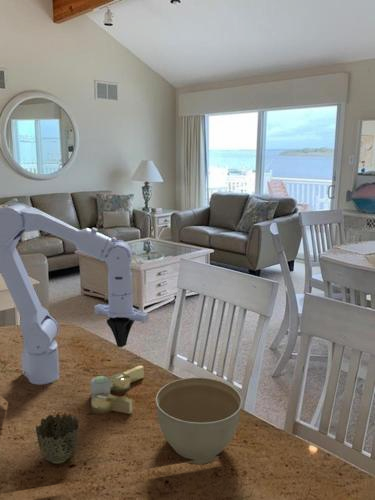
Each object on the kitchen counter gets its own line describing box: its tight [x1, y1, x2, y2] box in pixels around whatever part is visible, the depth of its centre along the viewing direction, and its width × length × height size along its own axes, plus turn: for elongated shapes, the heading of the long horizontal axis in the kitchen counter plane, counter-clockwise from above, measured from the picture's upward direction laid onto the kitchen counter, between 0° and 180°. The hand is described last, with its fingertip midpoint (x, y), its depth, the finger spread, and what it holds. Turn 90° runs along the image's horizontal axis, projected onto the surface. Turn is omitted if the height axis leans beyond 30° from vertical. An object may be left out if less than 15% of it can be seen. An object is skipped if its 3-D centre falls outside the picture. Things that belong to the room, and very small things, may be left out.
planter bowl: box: [155, 377, 243, 465], centre depth 87 cm, size 16×16×11 cm
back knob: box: [109, 365, 145, 393], centre depth 110 cm, size 9×5×3 cm, turn 135°
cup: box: [35, 413, 80, 464], centre depth 83 cm, size 8×7×8 cm
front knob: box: [90, 393, 133, 415], centre depth 99 cm, size 9×5×3 cm, turn 71°
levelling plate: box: [89, 375, 112, 399], centre depth 105 cm, size 17×17×6 cm
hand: (121, 345), depth 113 cm, fingers closed
